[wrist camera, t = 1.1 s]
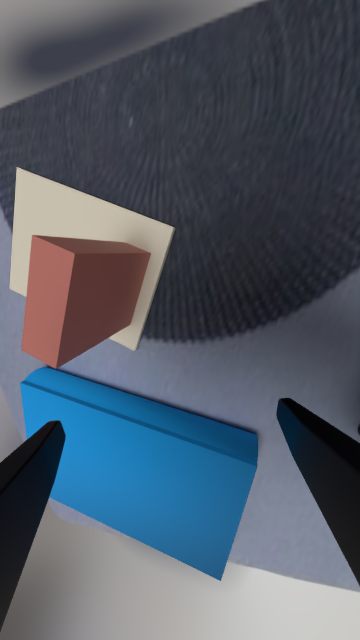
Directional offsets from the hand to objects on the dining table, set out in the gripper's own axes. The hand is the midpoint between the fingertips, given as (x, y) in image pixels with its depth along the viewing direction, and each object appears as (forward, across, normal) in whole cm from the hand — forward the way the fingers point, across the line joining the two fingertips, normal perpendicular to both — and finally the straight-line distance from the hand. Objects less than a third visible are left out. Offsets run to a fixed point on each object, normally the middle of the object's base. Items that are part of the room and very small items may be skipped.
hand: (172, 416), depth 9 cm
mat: (+16, +8, -4) cm, 18 cm away
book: (+12, +5, +18) cm, 22 cm away
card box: (+14, +3, -2) cm, 14 cm away
